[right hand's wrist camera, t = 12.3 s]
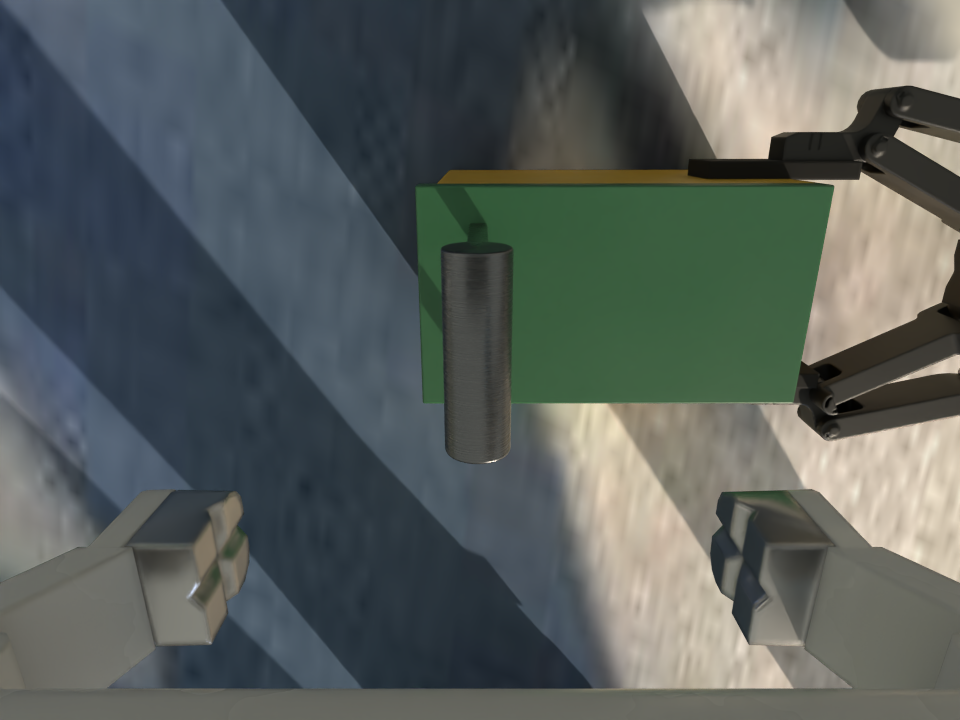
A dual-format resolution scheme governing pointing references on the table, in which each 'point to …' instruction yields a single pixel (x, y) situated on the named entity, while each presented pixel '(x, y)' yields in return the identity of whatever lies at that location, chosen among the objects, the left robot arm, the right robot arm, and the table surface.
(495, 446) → the lid
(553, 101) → the table surface
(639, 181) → the chest
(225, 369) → the table surface
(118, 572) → the right robot arm
